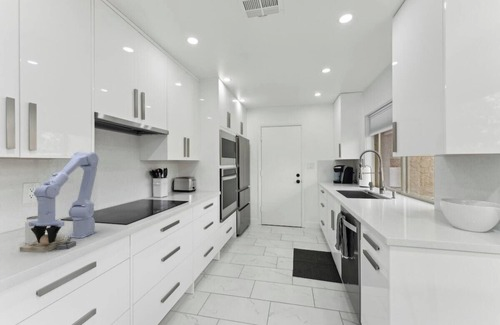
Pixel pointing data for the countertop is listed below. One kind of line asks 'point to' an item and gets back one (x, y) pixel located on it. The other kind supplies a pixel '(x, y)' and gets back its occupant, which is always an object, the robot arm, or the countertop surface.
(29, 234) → the can
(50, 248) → the carton
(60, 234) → the white egg
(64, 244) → the egg stand
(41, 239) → the brown egg
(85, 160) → the robot arm
